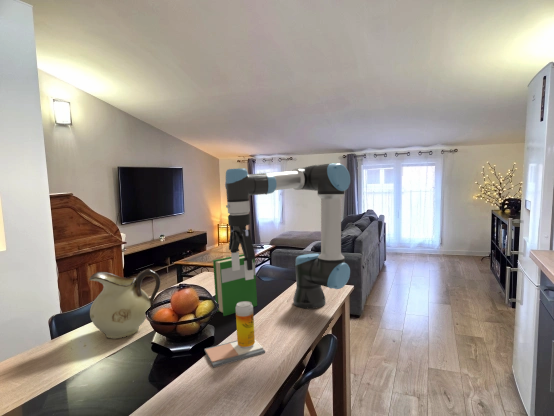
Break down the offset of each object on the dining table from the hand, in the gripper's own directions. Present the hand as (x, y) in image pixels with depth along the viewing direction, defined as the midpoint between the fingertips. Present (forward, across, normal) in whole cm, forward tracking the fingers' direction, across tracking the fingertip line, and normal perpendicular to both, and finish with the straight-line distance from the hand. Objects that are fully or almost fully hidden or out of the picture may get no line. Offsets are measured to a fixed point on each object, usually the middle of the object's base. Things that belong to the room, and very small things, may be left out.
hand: (242, 274), depth 119 cm
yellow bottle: (+26, 0, 0) cm, 26 cm away
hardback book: (+27, -38, +9) cm, 47 cm away
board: (+27, 0, -5) cm, 27 cm away
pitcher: (+27, -40, -39) cm, 62 cm away
